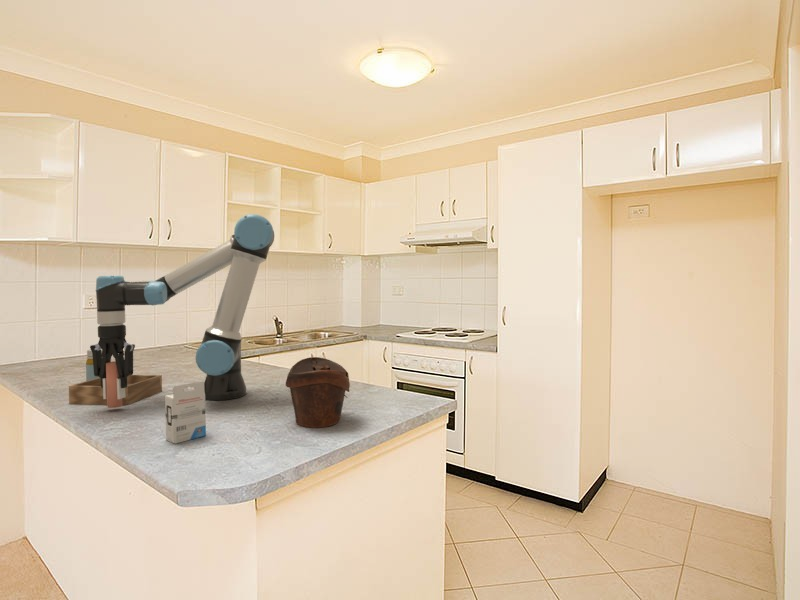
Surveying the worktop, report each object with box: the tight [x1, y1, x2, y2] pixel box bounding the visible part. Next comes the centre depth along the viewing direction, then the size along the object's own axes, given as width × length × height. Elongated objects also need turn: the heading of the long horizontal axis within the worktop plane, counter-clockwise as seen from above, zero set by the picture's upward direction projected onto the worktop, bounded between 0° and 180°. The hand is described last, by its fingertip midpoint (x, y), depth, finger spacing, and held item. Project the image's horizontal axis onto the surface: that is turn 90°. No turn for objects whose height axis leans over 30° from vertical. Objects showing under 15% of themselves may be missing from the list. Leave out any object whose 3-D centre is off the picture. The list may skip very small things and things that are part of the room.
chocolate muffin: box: [285, 356, 351, 429], centre depth 134 cm, size 18×20×18 cm
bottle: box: [85, 349, 102, 381], centre depth 175 cm, size 7×7×15 cm
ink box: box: [164, 380, 207, 444], centre depth 120 cm, size 8×5×15 cm, turn 140°
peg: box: [106, 360, 123, 409], centre depth 145 cm, size 4×4×14 cm
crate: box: [68, 374, 163, 406], centre depth 162 cm, size 20×20×6 cm
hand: (114, 397), depth 146 cm, fingers closed on peg, 4 cm apart
